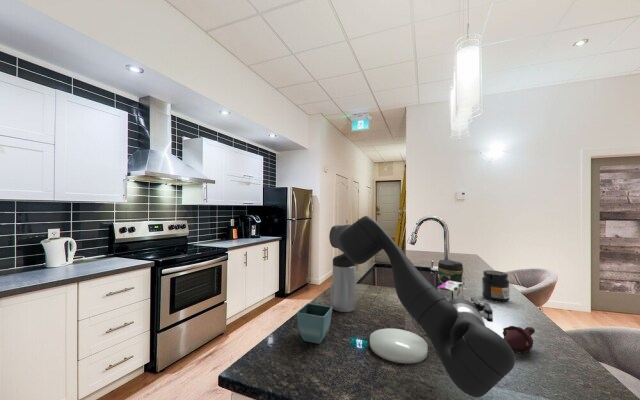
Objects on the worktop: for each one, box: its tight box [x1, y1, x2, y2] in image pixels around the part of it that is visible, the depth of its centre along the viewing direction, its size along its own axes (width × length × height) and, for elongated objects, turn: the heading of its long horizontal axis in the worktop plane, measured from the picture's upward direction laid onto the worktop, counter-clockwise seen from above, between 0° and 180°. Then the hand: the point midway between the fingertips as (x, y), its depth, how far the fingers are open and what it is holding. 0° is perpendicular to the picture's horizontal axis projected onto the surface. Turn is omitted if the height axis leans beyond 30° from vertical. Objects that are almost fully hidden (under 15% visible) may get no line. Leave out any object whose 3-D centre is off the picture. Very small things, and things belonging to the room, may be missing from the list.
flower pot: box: [296, 303, 333, 345], centre depth 80 cm, size 9×9×9 cm
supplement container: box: [481, 269, 511, 303], centre depth 120 cm, size 10×10×12 cm
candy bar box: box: [436, 281, 464, 300], centre depth 83 cm, size 11×5×16 cm, turn 137°
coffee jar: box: [437, 259, 464, 287], centre depth 112 cm, size 10×8×19 cm
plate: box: [369, 328, 429, 364], centre depth 76 cm, size 16×16×2 cm
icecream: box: [502, 325, 536, 355], centre depth 75 cm, size 7×7×15 cm
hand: (454, 299), depth 72 cm, fingers open, 8 cm apart
